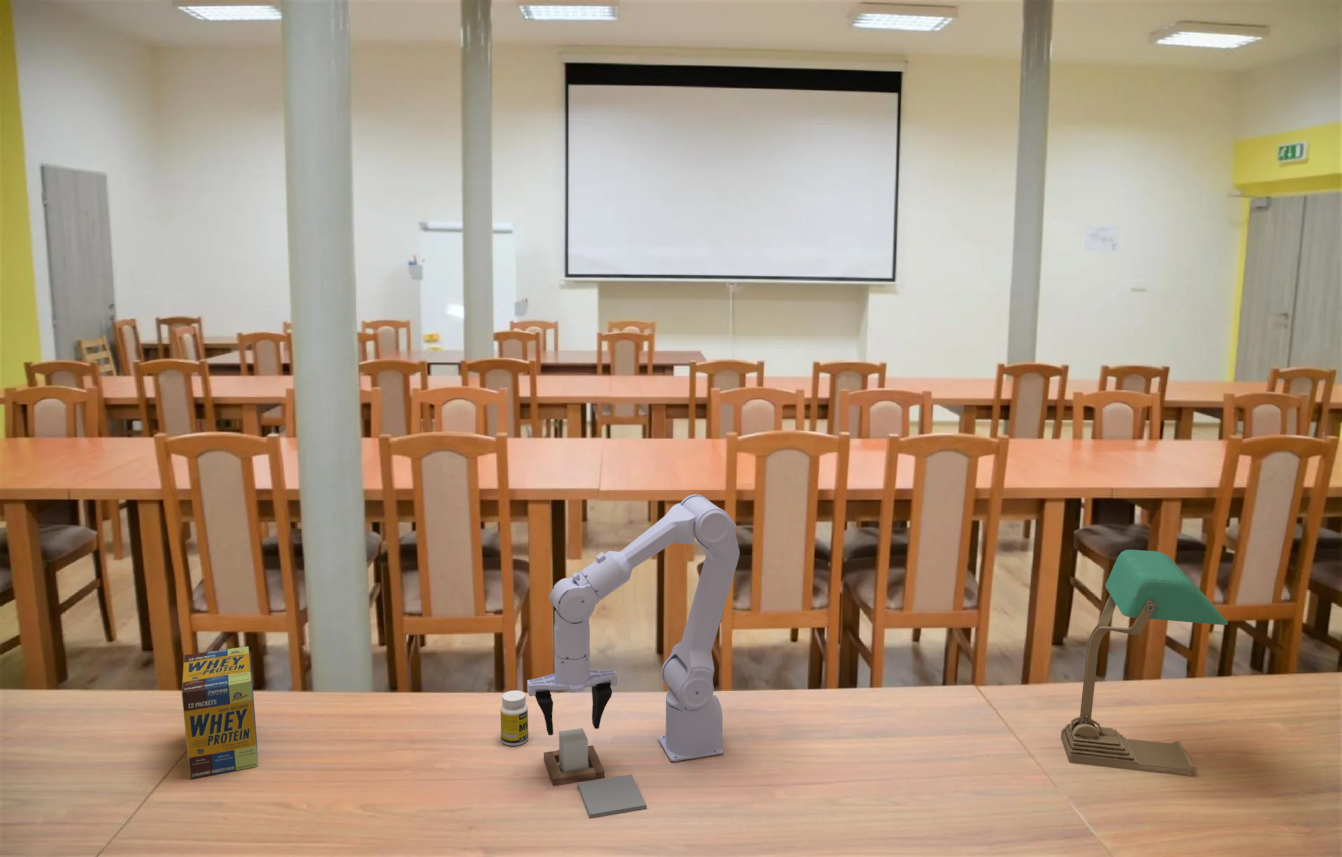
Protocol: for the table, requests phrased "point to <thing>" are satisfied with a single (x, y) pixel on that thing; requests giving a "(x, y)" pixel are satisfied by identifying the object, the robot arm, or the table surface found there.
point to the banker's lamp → (1142, 593)
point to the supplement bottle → (514, 718)
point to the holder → (577, 775)
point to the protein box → (219, 712)
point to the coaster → (611, 796)
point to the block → (573, 750)
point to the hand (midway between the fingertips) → (572, 729)
